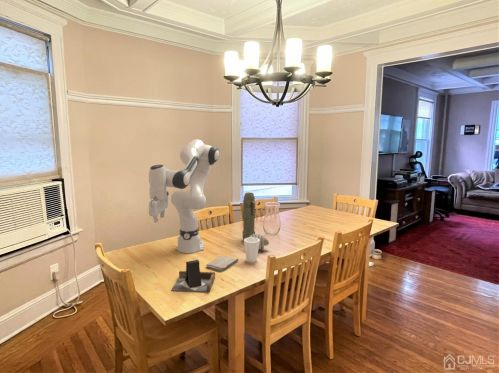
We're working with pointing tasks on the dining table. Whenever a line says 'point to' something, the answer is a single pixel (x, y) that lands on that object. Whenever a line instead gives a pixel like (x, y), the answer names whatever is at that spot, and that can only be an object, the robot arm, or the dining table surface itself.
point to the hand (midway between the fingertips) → (159, 219)
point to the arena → (206, 282)
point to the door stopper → (193, 274)
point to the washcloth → (222, 263)
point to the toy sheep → (262, 241)
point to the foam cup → (251, 248)
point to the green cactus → (248, 215)
